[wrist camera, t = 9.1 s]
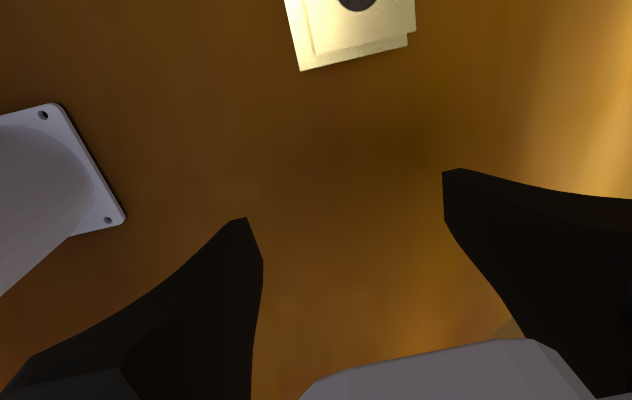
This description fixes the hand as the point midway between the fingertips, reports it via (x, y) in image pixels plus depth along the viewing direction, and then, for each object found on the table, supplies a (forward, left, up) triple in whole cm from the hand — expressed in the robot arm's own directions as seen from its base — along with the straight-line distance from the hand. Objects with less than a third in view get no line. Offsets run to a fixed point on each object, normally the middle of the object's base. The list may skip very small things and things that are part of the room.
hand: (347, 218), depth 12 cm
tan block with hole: (+2, +7, -9) cm, 12 cm away
